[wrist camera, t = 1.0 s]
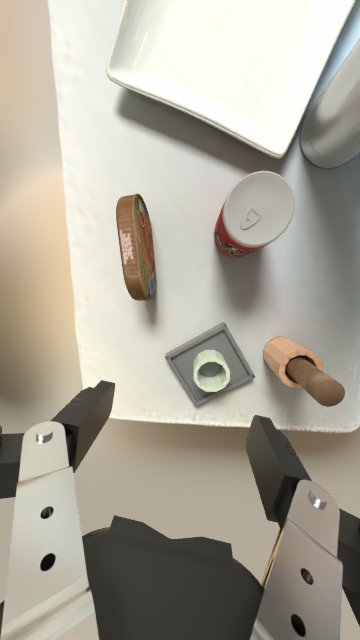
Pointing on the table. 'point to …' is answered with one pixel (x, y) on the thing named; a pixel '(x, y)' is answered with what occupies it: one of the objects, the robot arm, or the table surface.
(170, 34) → the square plate
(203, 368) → the tray
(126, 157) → the table surface
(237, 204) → the canned food
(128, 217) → the tin
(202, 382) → the holder
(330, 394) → the peg
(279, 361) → the cup
